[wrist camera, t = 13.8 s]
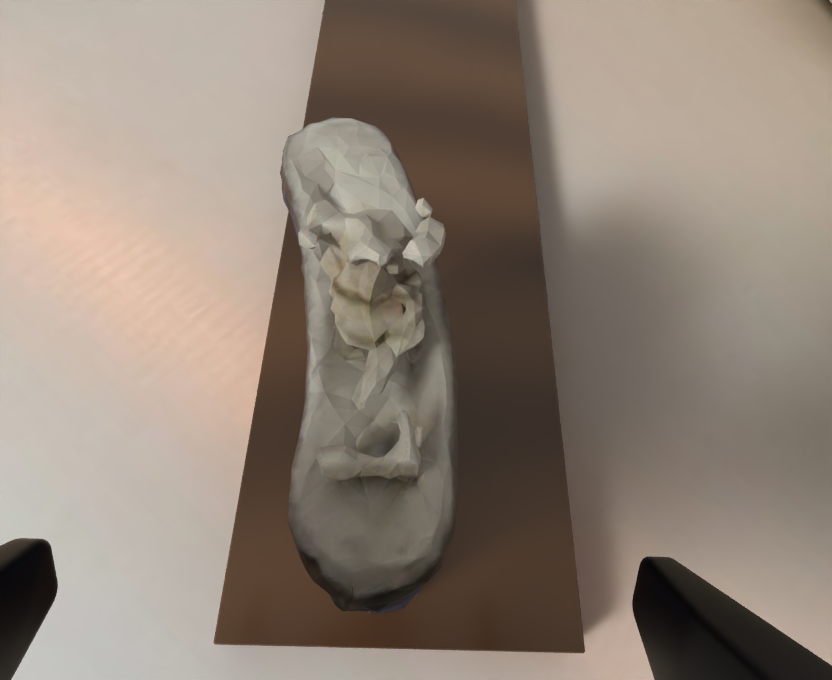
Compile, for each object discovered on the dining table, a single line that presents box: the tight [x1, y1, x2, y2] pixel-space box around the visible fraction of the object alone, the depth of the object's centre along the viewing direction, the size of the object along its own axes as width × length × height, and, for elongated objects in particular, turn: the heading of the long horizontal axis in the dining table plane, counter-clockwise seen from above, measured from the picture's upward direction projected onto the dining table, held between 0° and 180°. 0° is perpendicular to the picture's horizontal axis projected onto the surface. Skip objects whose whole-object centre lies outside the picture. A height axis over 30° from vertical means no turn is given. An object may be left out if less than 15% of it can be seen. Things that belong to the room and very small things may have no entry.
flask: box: [280, 118, 459, 614], centre depth 12 cm, size 9×3×11 cm, turn 8°
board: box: [214, 0, 585, 653], centre depth 24 cm, size 40×10×2 cm, turn 179°
